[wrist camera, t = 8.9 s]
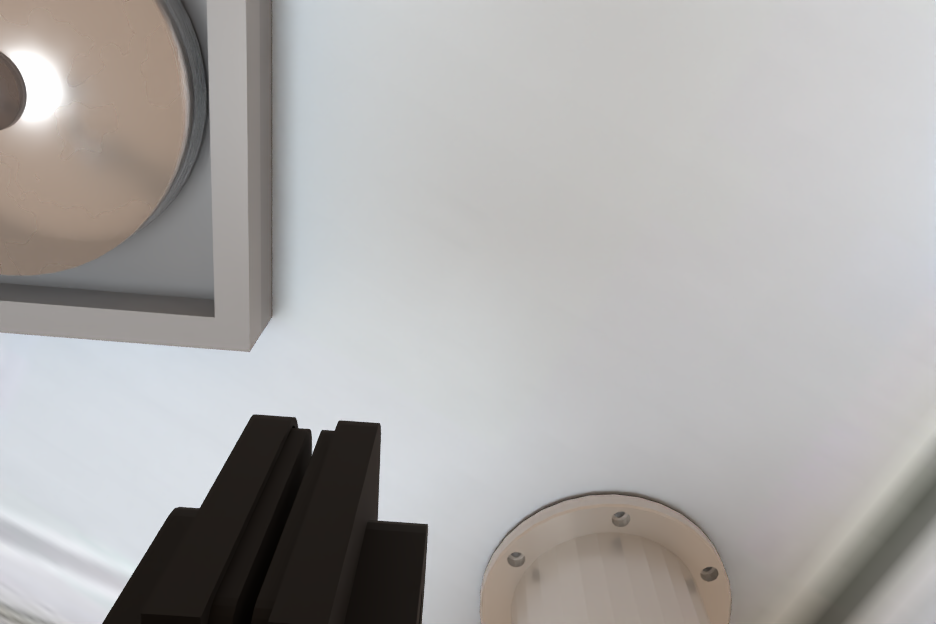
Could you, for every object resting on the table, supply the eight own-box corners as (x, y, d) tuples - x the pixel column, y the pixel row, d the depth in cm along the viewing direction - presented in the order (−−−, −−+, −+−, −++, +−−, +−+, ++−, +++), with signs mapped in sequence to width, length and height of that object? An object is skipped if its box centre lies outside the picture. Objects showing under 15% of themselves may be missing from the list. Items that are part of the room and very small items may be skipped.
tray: (271, 317, 39) (247, 354, 35) (-127, 286, 39) (-197, 320, 35) (271, -181, 32) (241, -206, 28) (-214, -224, 32) (-314, -254, 28)
